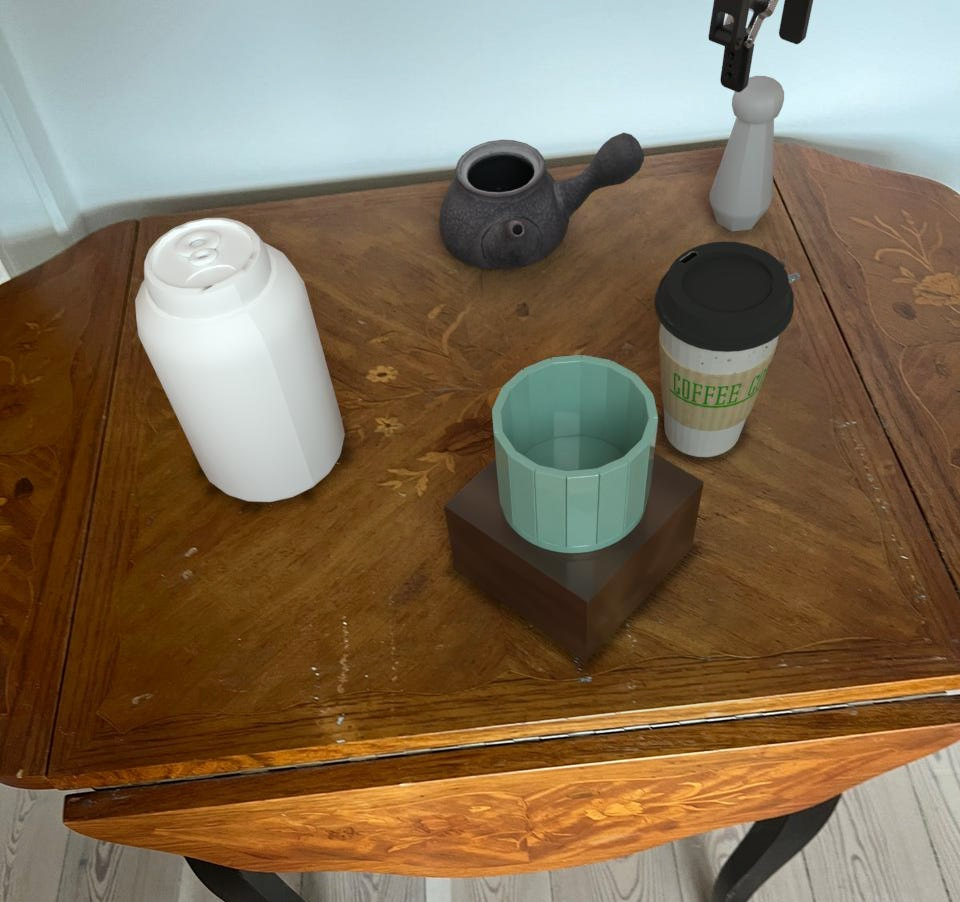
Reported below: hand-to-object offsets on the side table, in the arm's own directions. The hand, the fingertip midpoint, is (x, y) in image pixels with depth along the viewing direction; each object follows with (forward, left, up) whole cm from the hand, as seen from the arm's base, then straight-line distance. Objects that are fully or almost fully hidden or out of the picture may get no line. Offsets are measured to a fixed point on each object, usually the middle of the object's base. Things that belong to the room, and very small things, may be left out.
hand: (762, 63), depth 83 cm
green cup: (+41, +13, -7) cm, 44 cm away
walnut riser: (+41, +13, -15) cm, 46 cm away
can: (+48, -14, -15) cm, 52 cm away
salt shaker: (0, 0, -15) cm, 15 cm away
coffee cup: (+24, +13, -15) cm, 31 cm away
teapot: (+14, -13, -15) cm, 24 cm away
